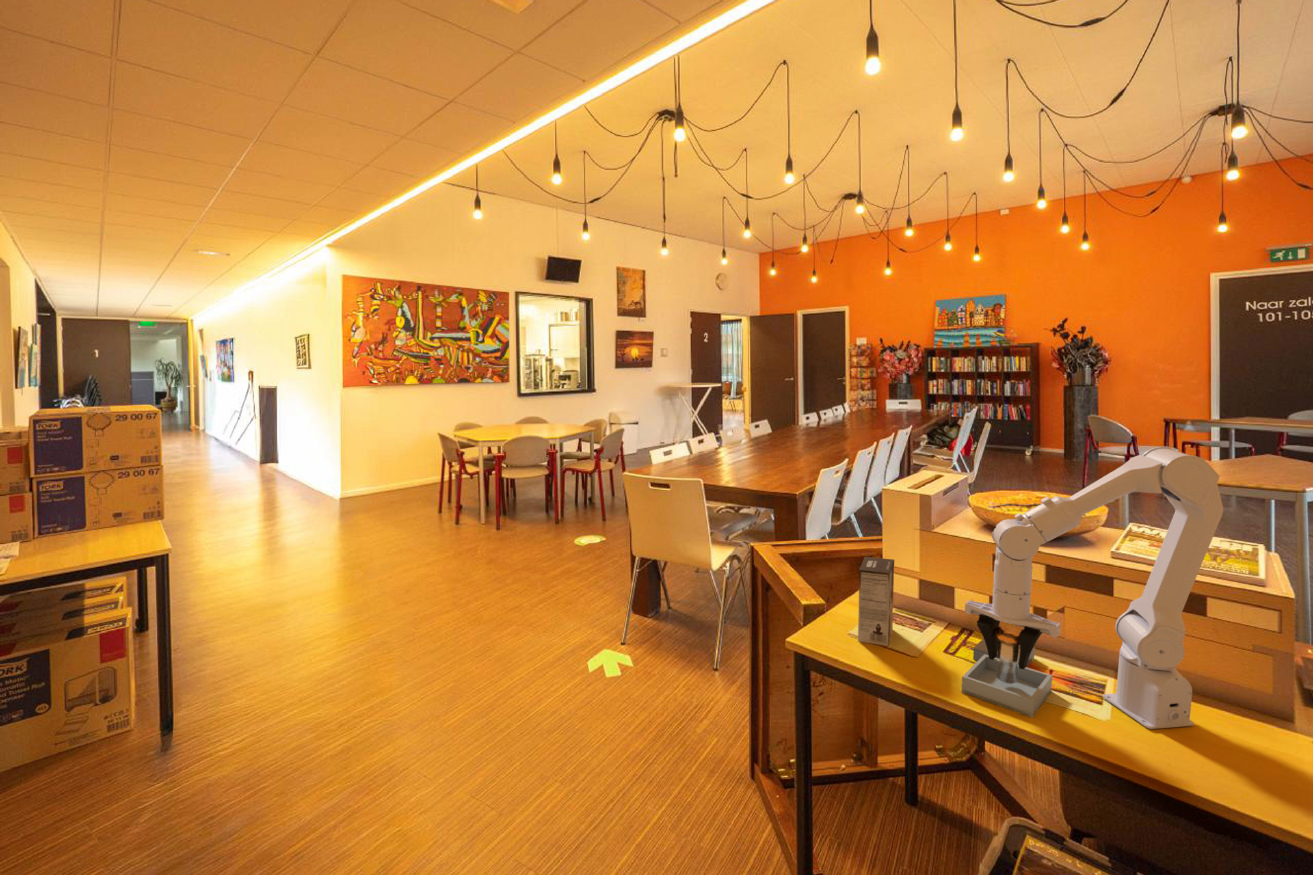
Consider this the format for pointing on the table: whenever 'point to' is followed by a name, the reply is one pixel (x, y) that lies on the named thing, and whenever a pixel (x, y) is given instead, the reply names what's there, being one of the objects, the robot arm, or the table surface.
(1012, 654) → the pin
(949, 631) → the table surface
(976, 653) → the grey square socket block
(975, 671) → the tray
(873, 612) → the coffee box
